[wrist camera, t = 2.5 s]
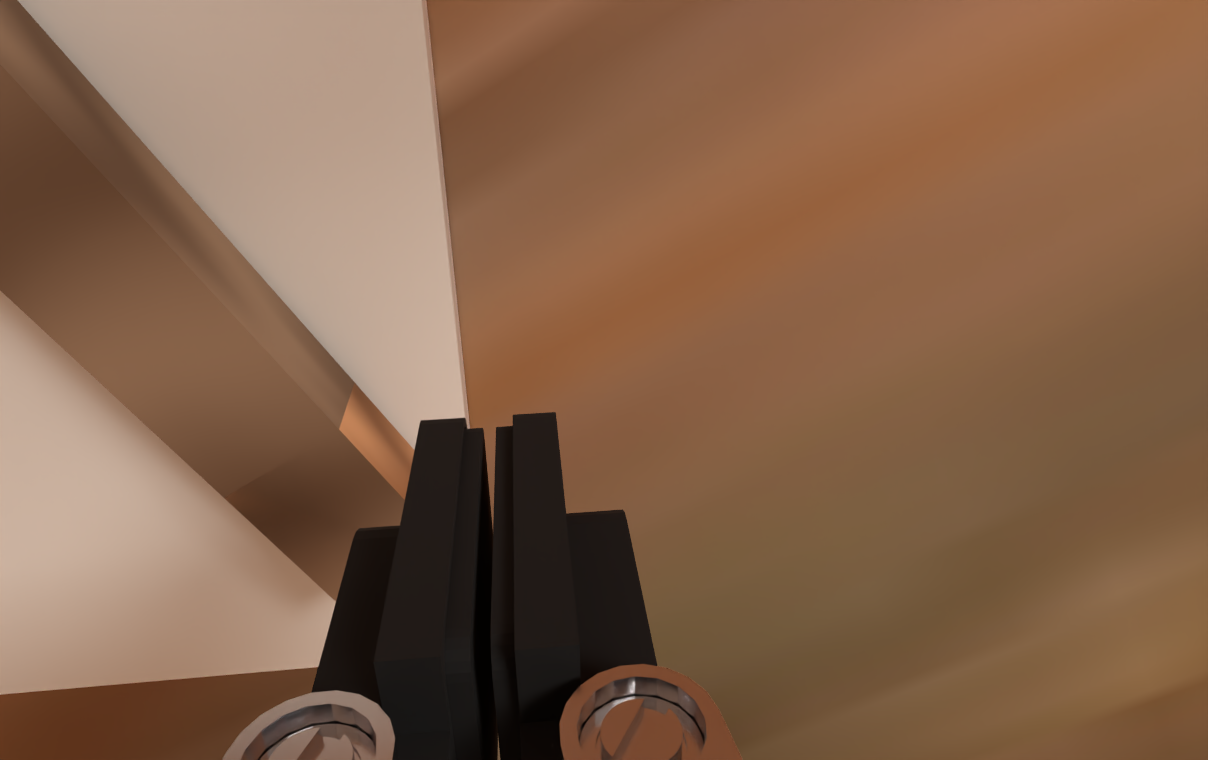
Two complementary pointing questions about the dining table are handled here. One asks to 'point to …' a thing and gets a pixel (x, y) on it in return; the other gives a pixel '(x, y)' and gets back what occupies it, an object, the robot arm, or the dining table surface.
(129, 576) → the board
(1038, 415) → the dining table surface
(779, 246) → the dining table surface
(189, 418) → the tongs arm
